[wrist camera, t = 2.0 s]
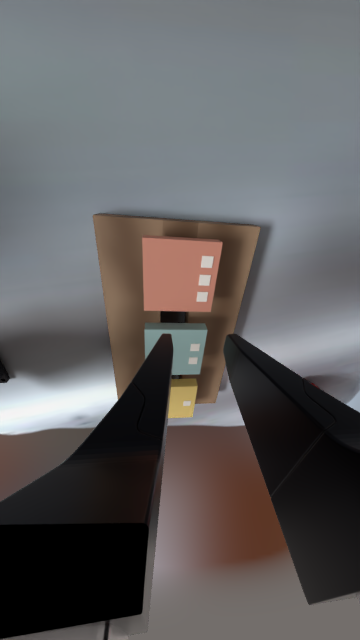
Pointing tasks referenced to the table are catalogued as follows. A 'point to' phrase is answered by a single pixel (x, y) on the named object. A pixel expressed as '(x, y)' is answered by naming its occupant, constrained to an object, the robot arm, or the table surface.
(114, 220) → the button board
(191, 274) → the tile brick
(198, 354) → the tile teal
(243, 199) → the table surface
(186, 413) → the tile mustard
